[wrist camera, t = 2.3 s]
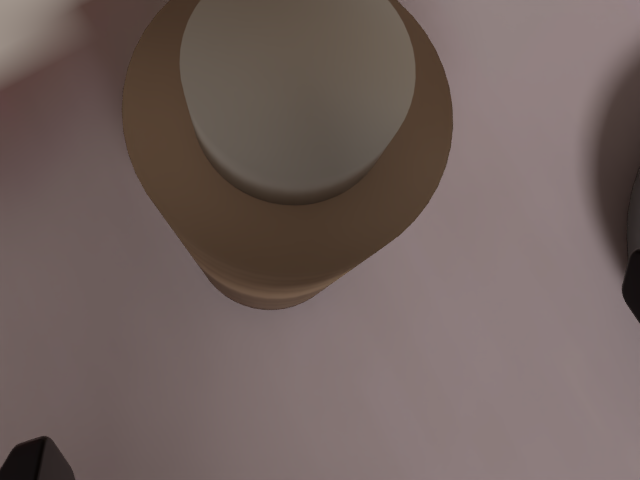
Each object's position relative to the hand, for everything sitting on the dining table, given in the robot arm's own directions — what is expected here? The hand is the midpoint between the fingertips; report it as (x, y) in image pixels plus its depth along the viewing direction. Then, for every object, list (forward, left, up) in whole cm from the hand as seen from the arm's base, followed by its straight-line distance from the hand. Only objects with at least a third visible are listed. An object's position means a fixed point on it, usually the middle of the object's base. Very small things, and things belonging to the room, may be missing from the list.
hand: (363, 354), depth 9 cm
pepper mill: (+3, +2, -11) cm, 11 cm away
